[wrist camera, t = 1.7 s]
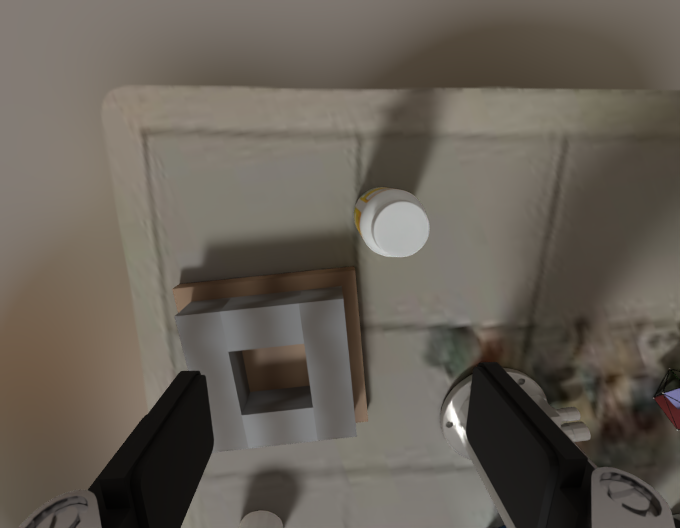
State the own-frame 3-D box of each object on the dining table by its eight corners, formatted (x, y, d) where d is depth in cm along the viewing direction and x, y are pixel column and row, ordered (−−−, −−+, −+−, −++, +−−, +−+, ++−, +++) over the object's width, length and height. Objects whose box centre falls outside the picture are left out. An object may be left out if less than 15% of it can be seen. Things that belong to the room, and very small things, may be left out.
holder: (353, 266, 32) (358, 281, 27) (366, 411, 37) (372, 446, 32) (179, 284, 32) (153, 302, 27) (214, 428, 37) (197, 466, 32)
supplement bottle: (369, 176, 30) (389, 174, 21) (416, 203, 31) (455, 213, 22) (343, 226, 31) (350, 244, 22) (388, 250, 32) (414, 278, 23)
